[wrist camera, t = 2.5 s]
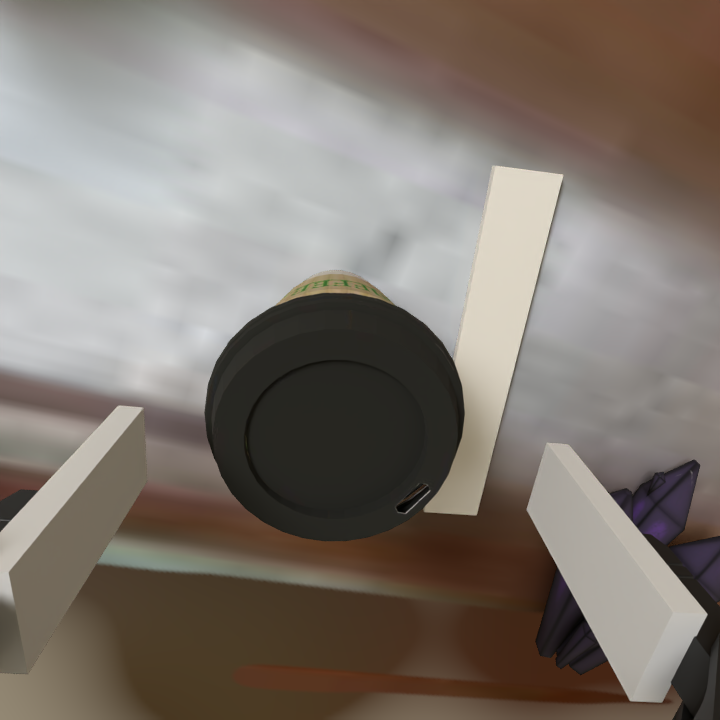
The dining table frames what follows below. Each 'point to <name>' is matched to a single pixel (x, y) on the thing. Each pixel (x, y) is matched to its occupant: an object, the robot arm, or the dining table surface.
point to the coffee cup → (334, 411)
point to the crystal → (651, 516)
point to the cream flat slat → (495, 321)
